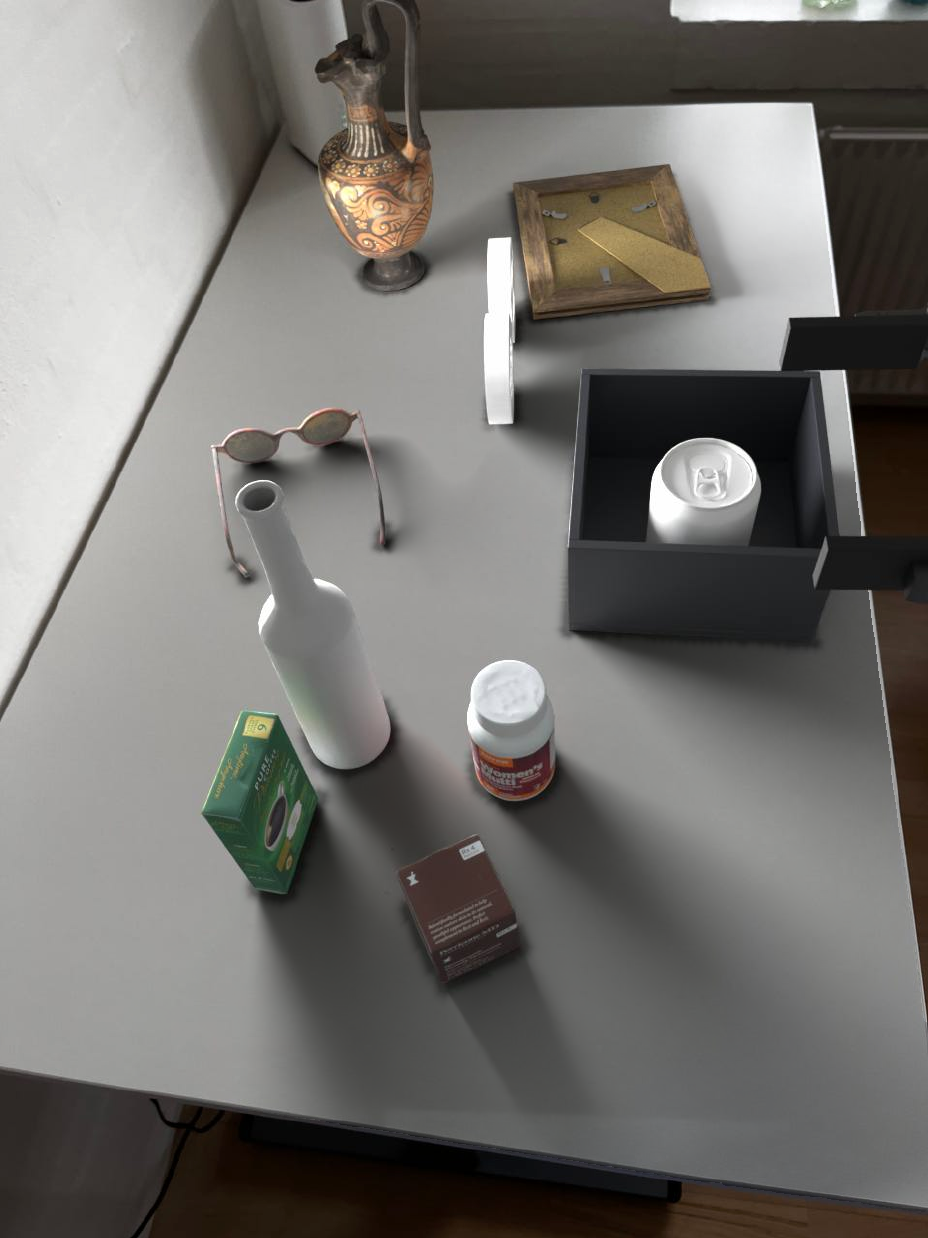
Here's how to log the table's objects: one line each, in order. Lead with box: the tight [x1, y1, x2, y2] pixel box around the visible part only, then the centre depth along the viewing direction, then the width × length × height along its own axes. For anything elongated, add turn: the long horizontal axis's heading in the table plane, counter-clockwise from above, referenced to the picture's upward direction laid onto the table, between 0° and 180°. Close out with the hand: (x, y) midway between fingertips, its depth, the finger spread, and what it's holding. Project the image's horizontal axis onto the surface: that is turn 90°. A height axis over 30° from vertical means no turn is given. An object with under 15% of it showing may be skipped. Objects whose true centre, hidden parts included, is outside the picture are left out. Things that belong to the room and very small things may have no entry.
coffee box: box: [200, 709, 319, 895], centre depth 68 cm, size 8×3×13 cm, turn 168°
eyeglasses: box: [210, 407, 386, 578], centre depth 91 cm, size 15×15×5 cm
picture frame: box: [512, 163, 712, 320], centre depth 110 cm, size 19×2×24 cm
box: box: [395, 833, 521, 984], centre depth 66 cm, size 6×6×7 cm
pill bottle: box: [466, 659, 556, 802], centre depth 71 cm, size 6×6×11 cm
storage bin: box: [567, 367, 841, 643], centre depth 82 cm, size 20×20×11 cm
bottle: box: [234, 480, 392, 770], centre depth 67 cm, size 7×7×28 cm
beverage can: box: [646, 438, 761, 546], centre depth 78 cm, size 8×8×12 cm
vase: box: [314, 0, 435, 292], centre depth 99 cm, size 12×12×30 cm
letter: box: [483, 237, 516, 425], centre depth 97 cm, size 22×2×10 cm, turn 178°
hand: (799, 444), depth 45 cm, fingers open, 13 cm apart
